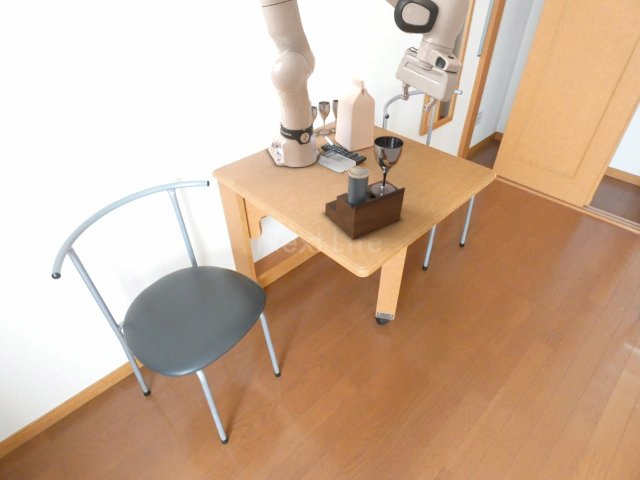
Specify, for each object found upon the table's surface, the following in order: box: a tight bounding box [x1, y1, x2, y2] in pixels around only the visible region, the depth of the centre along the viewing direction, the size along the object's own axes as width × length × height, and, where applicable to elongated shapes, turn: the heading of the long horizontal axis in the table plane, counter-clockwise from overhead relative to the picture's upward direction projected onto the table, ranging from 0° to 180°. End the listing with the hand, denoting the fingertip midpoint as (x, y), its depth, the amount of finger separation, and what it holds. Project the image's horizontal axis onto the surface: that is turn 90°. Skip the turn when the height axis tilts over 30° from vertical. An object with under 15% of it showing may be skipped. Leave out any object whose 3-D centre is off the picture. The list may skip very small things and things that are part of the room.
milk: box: [334, 76, 376, 153], centre depth 149 cm, size 12×12×26 cm
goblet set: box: [311, 99, 339, 137], centre depth 163 cm, size 28×6×13 cm, turn 112°
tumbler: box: [346, 165, 371, 205], centre depth 103 cm, size 6×6×9 cm
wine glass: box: [371, 135, 405, 196], centre depth 105 cm, size 8×8×15 cm
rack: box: [324, 179, 406, 240], centre depth 113 cm, size 15×18×12 cm
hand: (414, 105), depth 110 cm, fingers open, 8 cm apart
